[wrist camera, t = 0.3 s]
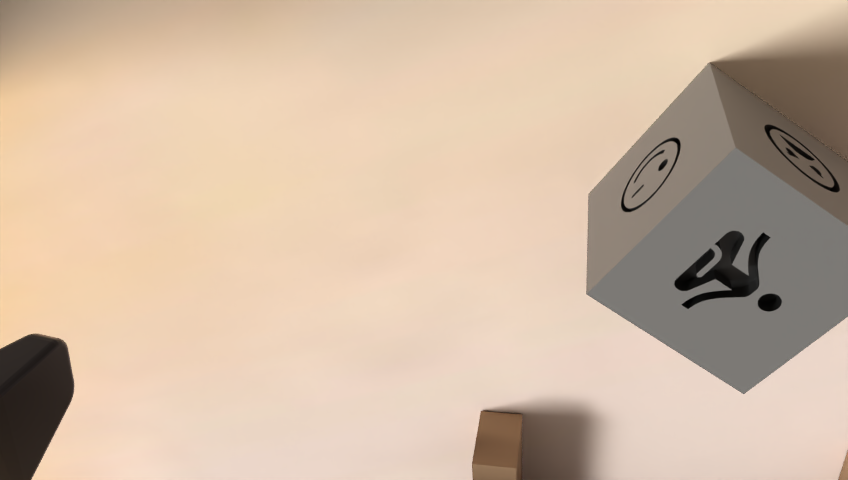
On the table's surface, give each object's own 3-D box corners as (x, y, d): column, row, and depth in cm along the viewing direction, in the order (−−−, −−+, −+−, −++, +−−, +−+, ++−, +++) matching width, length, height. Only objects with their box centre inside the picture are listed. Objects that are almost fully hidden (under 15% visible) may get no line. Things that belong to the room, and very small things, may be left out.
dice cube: (708, 61, 21) (735, 147, 17) (852, 163, 22) (910, 269, 18) (588, 192, 24) (585, 294, 20) (719, 279, 25) (743, 394, 20)
